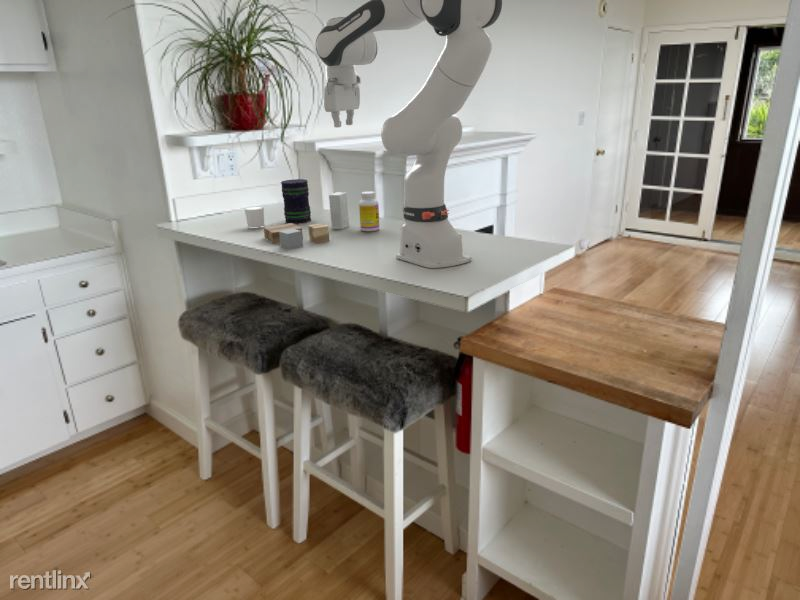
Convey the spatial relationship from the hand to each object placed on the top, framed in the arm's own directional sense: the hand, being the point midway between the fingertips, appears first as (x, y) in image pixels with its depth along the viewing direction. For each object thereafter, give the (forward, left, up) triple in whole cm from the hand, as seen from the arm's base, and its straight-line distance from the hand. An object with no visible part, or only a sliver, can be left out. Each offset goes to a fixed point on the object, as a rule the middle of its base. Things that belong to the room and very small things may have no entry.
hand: (343, 126), depth 175 cm
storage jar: (+35, +7, -35) cm, 50 cm away
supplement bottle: (+5, -9, -35) cm, 37 cm away
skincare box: (+15, -2, -35) cm, 38 cm away
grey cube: (-1, +21, -35) cm, 41 cm away
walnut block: (+11, +20, -35) cm, 42 cm away
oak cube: (+1, +11, -35) cm, 37 cm away
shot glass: (+35, +23, -35) cm, 55 cm away
